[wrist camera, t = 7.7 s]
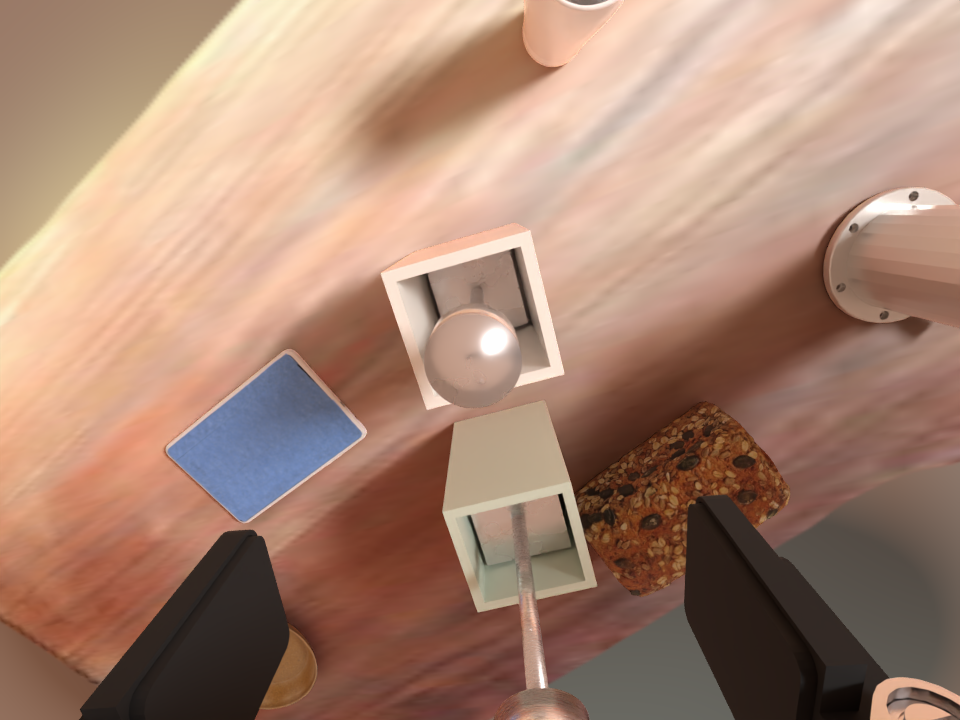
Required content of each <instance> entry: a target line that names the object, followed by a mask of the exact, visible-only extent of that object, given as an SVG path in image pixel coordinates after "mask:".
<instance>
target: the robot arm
mask: <svg viewBox="0 0 960 720" xmlns="http://www.w3.org/2000/svg"><path fill="white" fill-rule="evenodd" d="M823 277H824V282H825V287H826V290H827V292H828V294H829V296H830V298H831V300H832V301H833V302H834V304H835V305H836V306H837V307H838V308H839V309H840V310H842V311H843V312H844V313H846V314H848V315H850V316H852V317H854V318H856V319H860V320H863V321H866V322H874V323H890V322H895V321H899V320H904V319H906V318H908V317H911V316H914V317H918V318H922V319H926V320H930V321H934V322H938V323H942V324H946V325H950V326H953V327H957V328H960V205H956V203H954V202H953V201H952V200H951V199H950V198H949V197H948V196H946V195H944V194H942V193H941V192H939V191H936V190H933V189H929V188H925V187H905V188H896V189H892V190H888V191H884V192H882V193H880V194H877V195H875V196H873V197H871V198H869V199H868V200H866V201H864V202H863V203H861V204H860V205H858V206H857V207H856V208H855V209H854V210H853V211H852V212H851V213H849V214H848V215H847V216H846V218H845V219H844V220H843V221H842V223H841V224H840V225H839V226H838V228H837V229H836V231H835V233H834V235H833V236H832V238H831V240H830V243H829V245H828V248H827V250H826V254H825V259H824V265H823ZM684 606H685V612H686V616H687V620H688V622H689V624H690V626H691V628H692V631H693V633H694V635H695V637H696V639H697V641H698V643H699V645H700V647H701V649H702V651H703V654H704V656H705V657H706V660H707V662H708V664H709V666H710V668H711V670H712V672H713V674H714V677H715V678H716V680H717V683H718V685H719V687H720V689H721V691H722V693H723V695H724V697H725V699H726V702H727V704H728V706H729V708H730V709H731V712H732V714H733V716H734V718H735V720H960V696H958V695H956V694H954V693H952V692H950V691H948V690H946V689H944V688H942V687H940V686H938V685H935V684H931V683H928V682H926V681H922V680H919V679H912V678H904V677H898V678H891V679H890V678H889V677H888V676H887V675H886V673H885V672H884V671H883V670H882V669H881V668H880V666H879V665H878V664H877V663H876V662H875V661H874V659H873V658H872V657H871V656H870V655H869V654H868V652H867V651H866V650H865V649H864V648H863V646H862V645H861V644H860V643H859V642H858V641H857V639H856V638H855V637H854V636H853V635H852V633H851V632H850V631H849V630H848V629H847V628H846V626H845V625H844V624H843V623H842V622H841V621H840V619H839V618H838V617H837V616H836V615H835V613H834V612H833V611H832V610H831V609H830V608H829V606H828V605H827V604H826V603H825V602H824V601H823V599H822V598H821V597H820V596H819V595H818V593H816V591H815V590H814V589H813V588H812V586H811V585H810V584H809V583H808V582H807V581H806V579H805V578H804V577H803V576H802V575H801V574H800V572H799V571H798V570H797V569H796V568H795V566H794V565H793V564H792V563H791V562H790V561H789V560H787V559H785V558H783V557H778V555H777V554H776V553H775V552H774V550H773V549H772V548H771V547H770V546H769V544H768V543H767V542H766V541H765V539H764V538H763V537H762V536H761V535H760V533H759V532H758V531H757V530H756V529H755V527H754V526H753V525H752V524H751V523H750V521H749V520H748V519H747V518H746V517H745V515H744V514H743V513H742V512H741V511H740V509H739V508H738V507H737V506H736V504H735V503H734V502H733V501H732V500H731V498H730V497H728V496H727V495H711V496H699V497H697V499H696V502H695V504H690V505H689V506H688V515H687V543H686V570H685V597H684ZM289 636H290V631H289V626H288V623H287V619H286V615H285V612H284V608H283V605H282V601H281V597H280V594H279V590H278V587H277V583H276V580H275V576H274V572H273V569H272V565H271V562H270V558H269V554H268V551H267V547H266V544H265V541H264V538H263V537H262V536H257V533H256V532H255V531H254V530H239V531H228V532H224V533H223V534H222V535H221V536H220V538H219V539H218V540H217V541H216V542H215V544H214V545H213V546H212V547H211V549H210V550H209V551H208V552H207V554H206V555H205V556H204V557H203V558H202V560H201V561H200V562H199V563H198V565H197V566H196V567H195V568H194V570H193V571H192V572H191V573H190V574H189V576H188V577H187V578H186V579H185V581H184V582H183V583H182V584H181V586H180V587H179V588H178V589H177V590H176V592H175V593H174V594H173V595H172V597H171V598H170V599H169V600H168V602H167V603H166V604H165V605H164V606H163V608H162V609H161V610H160V611H159V613H158V614H157V615H156V616H155V617H154V619H153V620H152V621H151V622H150V624H149V625H148V626H147V627H146V629H145V630H144V631H143V632H142V633H141V635H140V636H139V637H138V638H137V640H136V641H135V642H134V643H133V645H132V646H131V647H130V648H129V649H128V651H127V652H126V653H125V654H124V656H123V657H122V658H121V659H120V661H119V662H118V663H117V664H116V665H115V667H114V668H113V669H112V670H111V672H110V673H109V674H108V675H107V677H106V678H105V679H104V680H103V681H102V683H101V684H100V685H99V686H98V688H97V689H96V690H95V691H94V693H93V694H92V695H91V696H90V697H89V699H88V700H87V701H86V702H85V704H84V705H83V706H82V707H81V709H80V710H81V712H82V717H81V718H80V719H79V720H254V719H255V717H256V715H257V713H258V711H259V708H260V706H261V704H262V702H263V700H264V697H265V695H266V693H267V691H268V689H269V686H270V684H271V682H272V680H273V678H274V675H275V673H276V671H277V669H278V667H279V665H280V662H281V660H282V658H283V656H284V654H285V651H286V649H287V646H288V643H289Z"/></svg>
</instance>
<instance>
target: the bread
mask: <svg viewBox="0 0 960 720" xmlns="http://www.w3.org/2000/svg"><path fill="white" fill-rule="evenodd" d="M711 495H727V496H728V497H730V498H731V500H732V501H733V502H734V503H735V504H736V506H737V507H738V508H739V509H740V511H741V512H742V513H743V514H744V515H745V517H746V518H747V519H748V520H749V521H750V523H751V524H752V525H753V526H754V527H755V528H757V527H758V526H759V525H760V524H762V523H763V522H764V521H765V520H767V519H770V518H771V517H772V516H775V515H777V514H778V512H779V511H780V510H781V509H783V508H784V506H786V505H787V503H788V500H789V497H790V488H789V486H788V485H787V484H786V483H785V481H784V480H783V478H782V476H781V475H780V473H779V472H778V470H777V468H776V467H775V465H774V463H773V462H772V460H771V459H770V457H769V456H768V455H767V454H766V453H765V452H764V451H763V450H762V449H761V448H760V447H759V446H758V445H757V444H756V443H755V442H754V439H753V438H752V437H751V436H750V435H749V434H748V433H747V432H746V430H745V429H744V428H743V427H742V426H741V425H740V424H739V423H738V422H737V421H736V420H734V419H733V418H732V417H731V416H729V415H727V414H726V413H725V412H723V411H722V410H721V409H720V408H718V407H717V406H715V405H714V404H711V403H708V402H706V401H705V402H701V403H699V404H697V405H696V406H694V407H693V408H691V410H690V411H688V412H687V413H685V414H684V415H682V416H681V417H680V418H678V419H676V420H674V421H673V422H671V423H670V424H669V426H668V427H666V428H663V429H661V430H660V431H658V432H656V433H655V434H654V435H653V436H652V437H651V438H648V439H647V441H646V442H644V443H642V444H640V445H639V446H638V447H637V448H635V449H633V450H632V451H631V452H630V453H629V454H627V455H625V456H623V457H622V458H621V459H620V462H618V463H614V464H612V465H611V466H609V467H608V468H607V469H606V470H604V471H603V472H601V473H600V474H598V475H597V476H596V477H595V478H594V479H592V480H591V481H589V482H588V483H587V484H586V486H585V487H584V488H583V489H581V490H579V491H578V492H576V494H575V495H574V497H575V501H576V504H577V508H578V512H579V516H580V520H581V524H582V528H583V532H584V535H585V537H586V539H587V541H589V543H590V544H591V546H592V547H593V548H594V549H595V551H596V552H597V553H598V555H599V556H600V557H601V558H602V560H603V561H604V562H605V564H606V565H607V566H608V568H609V569H610V570H611V571H612V573H613V574H614V576H615V577H616V578H617V579H618V581H619V582H620V583H621V584H622V585H623V586H624V587H625V588H627V589H628V590H629V591H630V592H631V594H632V595H636V596H640V597H643V596H647V595H649V594H652V593H653V592H655V591H658V590H660V589H664V588H665V587H666V586H669V585H670V584H671V582H672V581H674V580H675V579H677V578H680V577H681V576H683V575H685V570H686V543H687V515H688V506H689V505H690V504H695V502H696V499H697V497H699V496H711Z"/></svg>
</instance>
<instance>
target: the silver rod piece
mask: <svg viewBox="0 0 960 720" xmlns="http://www.w3.org/2000/svg"><path fill="white" fill-rule="evenodd" d="M471 517H472V520H473V523H474V526H475V529H476V532H477V535H478V538H479V541H480V544H481V547H482V550H483V553H484V556H485V559H486V562H487V565H488V566H489V565H493V564H498V563H502V562H507V561H511V560H515V564H516V575H517V586H518V597H519V608H520V619H521V630H522V641H523V653H524V664H525V675H526V686H527V690H524V691H522V692H519V693H517V694H515V695H513V696H511V697H509V698H508V699H507V700H505V701H504V702H503V703H502V704H501V705H500V707H499V708H498V710H497V712H496V714H495V717H494V720H590V719H589V714H588V712H587V710H586V708H585V706H584V705H583V704H582V703H581V701H579V700H578V699H577V698H576V697H574V696H573V695H571V694H569V693H567V692H564V691H561V690H557V689H551V688H548V682H547V675H546V667H545V660H544V652H543V645H542V638H541V630H540V623H539V616H538V608H537V601H536V593H535V586H534V579H533V571H532V564H531V556H533V555H538V554H542V553H546V552H551V551H555V550H560V549H564V548H569V547H571V543H570V539H569V535H568V532H567V528H566V524H565V520H564V517H563V513H562V509H561V505H560V501H559V498H558V494H556V495H552V496H548V497H543V498H539V499H535V500H531V501H526V502H522V503H518V504H514V505H509V506H505V507H501V508H497V509H493V510H488V511H484V512H480V513H476V514H471Z"/></svg>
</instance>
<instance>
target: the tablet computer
mask: <svg viewBox="0 0 960 720" xmlns="http://www.w3.org/2000/svg"><path fill="white" fill-rule="evenodd" d="M366 435H367V430H366V428H365V427H364V425H363V424H362V423H361V422H360V421H359V420H358V419H356V418H355V416H354V415H353V413H352V412H351V411H350V410H349V409H348V408H347V407H346V406H345V405H344V404H343V403H342V402H341V400H340V399H339V398H338V397H337V396H336V395H335V394H334V393H333V392H332V391H331V389H330V388H329V387H328V386H327V385H326V384H325V383H324V382H323V381H322V380H321V378H320V377H319V376H318V375H317V374H316V373H315V372H314V371H313V370H312V369H311V367H310V366H309V365H308V364H307V363H306V362H305V361H304V360H303V359H302V357H301V356H300V355H299V354H298V353H297V352H296V351H294V350H293V349H286V350H284V351H282V352H281V353H280V354H278V355H277V356H276V357H275V358H273V359H272V360H271V361H270V362H269V363H267V364H266V365H265V366H264V367H262V368H261V369H260V370H259V371H258V372H256V373H255V374H254V375H253V376H251V377H250V378H249V379H248V380H246V381H245V382H244V383H243V384H241V385H240V386H239V387H238V388H236V389H235V390H234V391H233V392H231V393H230V394H229V395H228V396H227V397H225V398H224V399H223V400H222V401H220V402H219V403H218V404H217V405H215V406H214V407H213V408H212V409H210V410H209V411H208V412H207V413H205V414H204V415H203V416H202V417H201V418H199V419H198V420H197V421H196V422H194V423H193V424H192V425H191V426H190V427H188V428H187V429H186V430H185V431H183V432H182V433H181V434H180V435H178V436H177V437H176V438H175V439H173V440H172V441H171V442H170V443H169V444H168V445H167V446H166V453H167V455H168V456H169V457H170V458H171V459H172V460H173V461H174V462H176V463H177V464H178V465H179V466H180V467H181V468H182V469H183V470H184V471H185V472H186V473H187V474H188V475H189V476H191V477H192V478H193V479H194V480H195V481H196V482H197V483H198V484H199V485H200V486H201V487H202V488H203V489H205V490H206V491H207V492H208V493H209V494H210V495H211V496H212V497H213V498H214V499H215V500H216V501H217V502H219V503H220V504H221V505H222V506H223V507H224V508H225V509H226V510H227V511H228V512H229V513H230V514H231V515H232V516H234V517H235V518H236V519H237V520H238V521H239V522H241V523H248V522H250V521H251V520H253V519H254V518H256V517H257V516H258V515H260V514H261V513H262V512H264V511H265V510H267V509H268V508H270V507H271V506H272V505H274V504H275V503H276V502H278V501H279V500H281V499H282V498H283V497H285V496H286V495H287V494H289V493H290V492H292V491H293V490H294V489H296V488H297V487H298V486H300V485H301V484H302V483H304V482H305V481H307V480H308V479H309V478H311V477H312V476H313V475H315V474H316V473H318V472H319V471H320V470H322V469H323V468H324V467H326V466H327V465H329V464H330V463H332V462H333V461H334V460H335V459H337V458H339V457H340V456H341V455H342V454H343V453H345V452H346V451H348V450H349V449H351V448H352V447H353V446H354V445H355V444H357V443H358V442H359V441H361V440H362V439H363V438H364V437H365V436H366Z"/></svg>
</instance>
